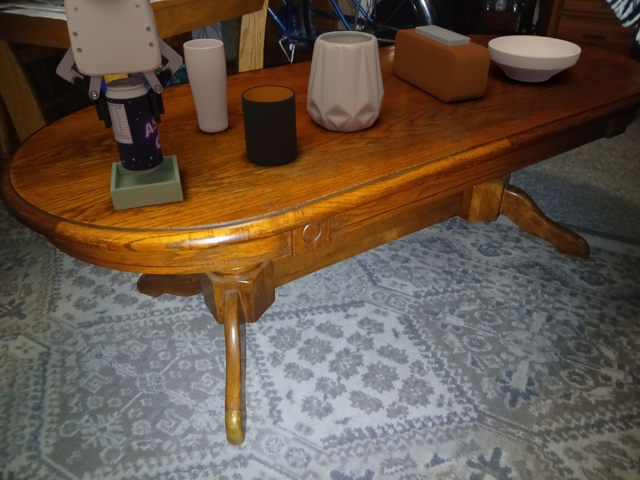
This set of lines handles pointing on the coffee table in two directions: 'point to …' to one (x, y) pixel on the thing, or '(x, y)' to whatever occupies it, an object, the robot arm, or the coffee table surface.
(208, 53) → the drinking glass
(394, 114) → the coffee table surface
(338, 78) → the vase
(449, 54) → the brown rounded block
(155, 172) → the tray
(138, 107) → the beverage can
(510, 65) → the bowl
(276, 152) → the mug
